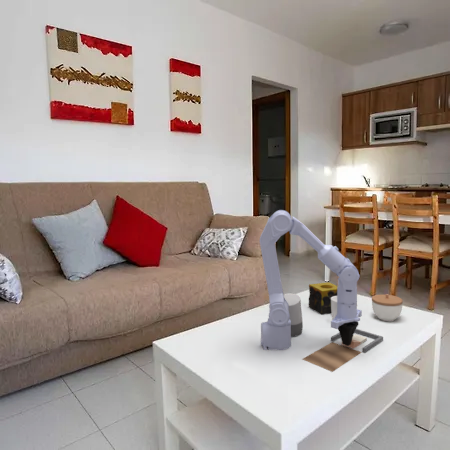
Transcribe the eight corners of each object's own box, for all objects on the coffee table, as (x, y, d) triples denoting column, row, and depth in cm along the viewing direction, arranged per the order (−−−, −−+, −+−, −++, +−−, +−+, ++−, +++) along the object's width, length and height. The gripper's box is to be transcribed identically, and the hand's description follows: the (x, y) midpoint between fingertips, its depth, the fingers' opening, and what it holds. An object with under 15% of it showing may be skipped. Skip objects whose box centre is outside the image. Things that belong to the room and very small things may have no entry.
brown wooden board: (332, 377, 98) (332, 371, 97) (302, 363, 105) (302, 359, 105) (361, 357, 108) (361, 352, 108) (332, 346, 116) (332, 342, 115)
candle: (307, 307, 152) (307, 284, 151) (328, 304, 155) (328, 281, 154) (321, 315, 143) (321, 290, 142) (343, 312, 146) (343, 288, 145)
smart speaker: (269, 335, 125) (269, 296, 123) (285, 327, 131) (284, 290, 130) (292, 343, 118) (292, 302, 117) (307, 335, 125) (307, 295, 123)
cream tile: (360, 347, 113) (360, 341, 113) (348, 343, 116) (348, 337, 116) (366, 343, 116) (366, 337, 116) (355, 340, 119) (355, 334, 119)
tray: (364, 357, 108) (364, 348, 107) (330, 345, 116) (330, 337, 116) (383, 345, 115) (383, 336, 115) (349, 334, 124) (349, 326, 124)
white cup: (338, 330, 127) (338, 303, 126) (326, 322, 135) (326, 296, 134) (357, 327, 129) (358, 301, 128) (344, 320, 137) (345, 294, 136)
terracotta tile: (353, 348, 110) (354, 342, 110) (341, 344, 113) (342, 338, 113) (359, 348, 113) (360, 342, 113) (347, 344, 116) (348, 338, 116)
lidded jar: (406, 324, 131) (406, 299, 130) (375, 323, 133) (375, 298, 132) (397, 313, 142) (397, 290, 141) (368, 312, 144) (368, 290, 143)
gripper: (346, 310, 102) (345, 356, 104) (371, 299, 112) (370, 340, 113) (324, 305, 107) (324, 348, 109) (350, 294, 117) (349, 334, 119)
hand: (346, 344), depth 111 cm, fingers closed
